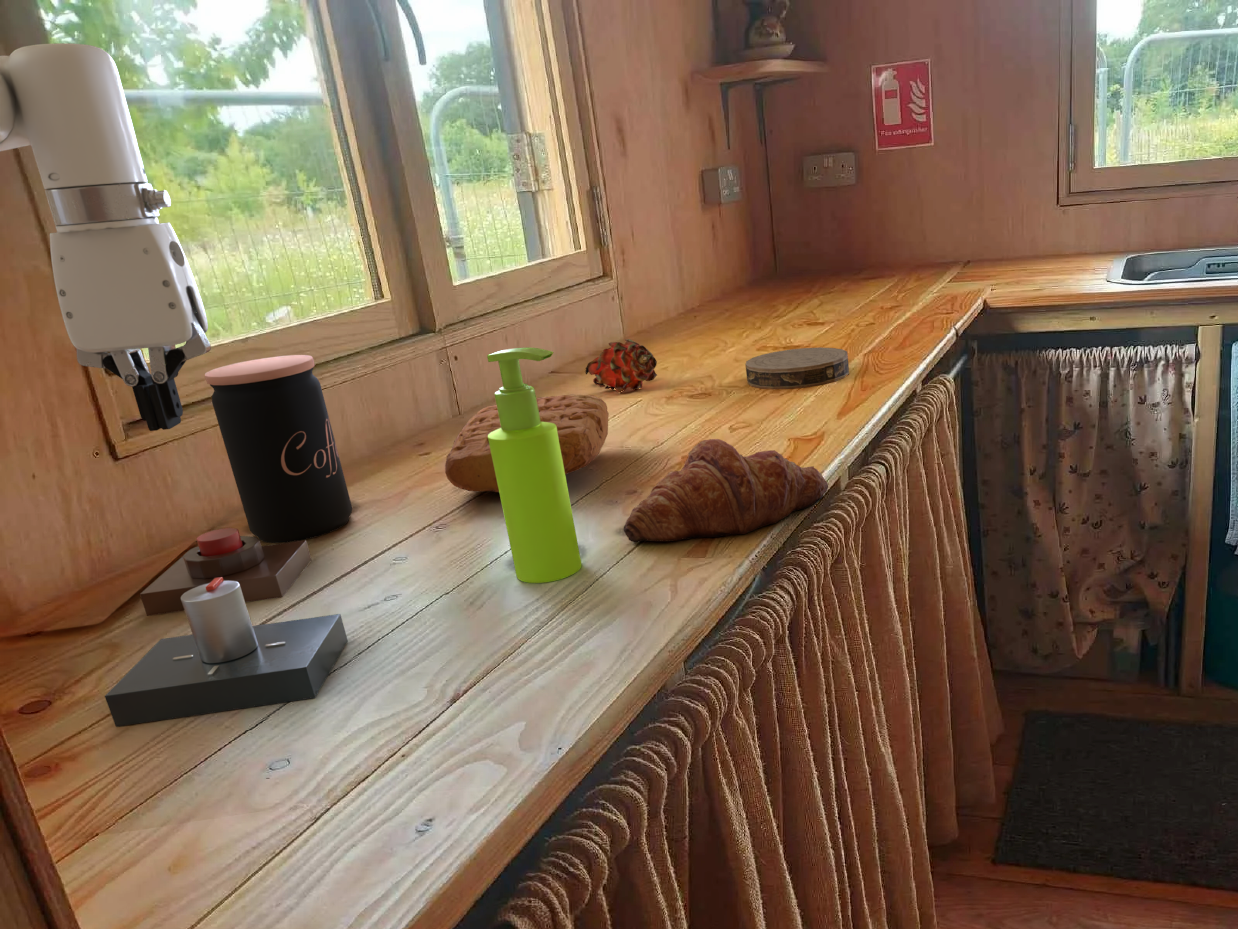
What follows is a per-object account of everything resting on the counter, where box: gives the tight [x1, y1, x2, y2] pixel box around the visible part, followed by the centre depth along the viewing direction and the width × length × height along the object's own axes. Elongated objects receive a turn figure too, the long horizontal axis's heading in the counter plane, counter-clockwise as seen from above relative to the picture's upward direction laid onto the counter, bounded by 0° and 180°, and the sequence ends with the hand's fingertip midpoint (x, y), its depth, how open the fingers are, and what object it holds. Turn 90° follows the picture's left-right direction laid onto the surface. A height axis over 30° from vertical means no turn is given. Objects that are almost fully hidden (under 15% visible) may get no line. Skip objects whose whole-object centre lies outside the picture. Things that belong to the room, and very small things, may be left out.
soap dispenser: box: [486, 346, 582, 584], centre depth 95 cm, size 6×7×20 cm
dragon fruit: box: [583, 338, 658, 393], centre depth 172 cm, size 8×8×12 cm
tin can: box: [744, 347, 850, 390], centre depth 168 cm, size 16×16×3 cm
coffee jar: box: [204, 354, 353, 544], centre depth 116 cm, size 11×11×18 cm
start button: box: [196, 527, 243, 556], centre depth 102 cm, size 4×4×2 cm
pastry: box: [623, 438, 829, 544], centre depth 106 cm, size 17×15×8 cm
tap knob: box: [181, 577, 258, 663], centre depth 81 cm, size 4×4×5 cm
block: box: [139, 535, 312, 617], centre depth 103 cm, size 12×10×4 cm
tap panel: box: [104, 613, 349, 728], centre depth 83 cm, size 14×10×3 cm
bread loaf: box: [444, 393, 610, 493], centre depth 128 cm, size 22×17×8 cm
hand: (165, 426), depth 97 cm, fingers closed
